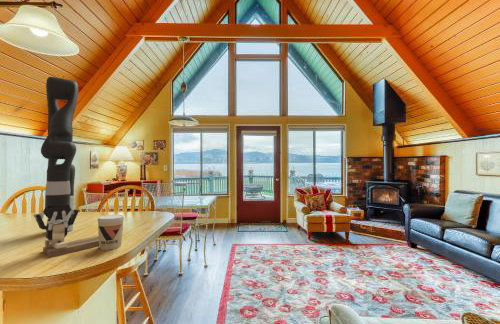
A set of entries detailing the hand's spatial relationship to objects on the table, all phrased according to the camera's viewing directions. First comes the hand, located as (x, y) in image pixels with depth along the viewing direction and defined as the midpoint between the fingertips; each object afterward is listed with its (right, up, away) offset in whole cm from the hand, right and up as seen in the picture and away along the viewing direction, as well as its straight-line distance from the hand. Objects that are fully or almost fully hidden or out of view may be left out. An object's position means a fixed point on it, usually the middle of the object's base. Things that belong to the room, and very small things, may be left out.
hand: (56, 238), depth 93 cm
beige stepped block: (+1, -4, 0) cm, 4 cm away
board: (+5, -5, +4) cm, 8 cm away
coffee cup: (+17, -5, +6) cm, 19 cm away
